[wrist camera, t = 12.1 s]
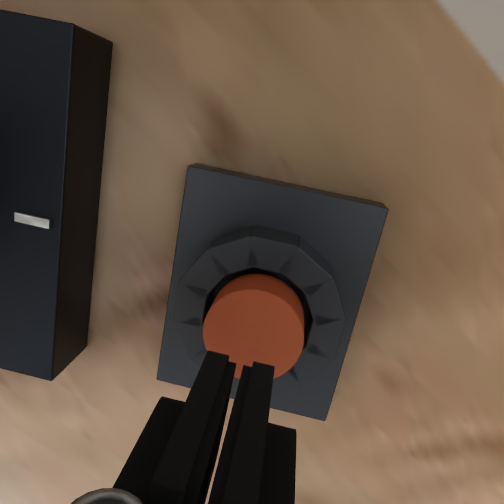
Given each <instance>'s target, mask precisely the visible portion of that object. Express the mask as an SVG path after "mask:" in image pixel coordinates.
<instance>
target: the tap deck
mask: <svg viewBox="0 0 504 504" xmlns="http://www.w3.org/2000/svg"><path fill="white" fill-rule="evenodd" d="M112 46H113V43H112V42H111V41H109V40H107V39H105V38H103V37H100V36H98V35H96V34H94V33H92V32H90V31H88V30H85V29H83V28H81V27H79V26H77V25H75V24H72V23H67V22H62V21H57V20H52V19H47V18H42V17H36V16H31V15H26V14H21V13H16V12H11V11H6V10H1V9H0V368H2V369H6V370H10V371H14V372H18V373H22V374H26V375H30V376H34V377H38V378H42V379H45V380H49V381H52V380H53V379H54V378H55V377H56V376H58V375H59V374H60V373H61V372H62V371H63V370H64V369H65V368H66V367H67V366H68V365H69V364H70V363H71V362H72V361H73V360H74V359H75V358H76V357H77V356H78V355H79V354H80V353H81V352H82V351H83V350H84V349H85V348H86V344H87V333H88V321H89V310H90V298H91V287H92V275H93V264H94V252H95V241H96V230H97V218H98V207H99V195H100V184H101V172H102V161H103V149H104V138H105V126H106V115H107V103H108V92H109V80H110V69H111V57H112Z"/></svg>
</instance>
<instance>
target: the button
mask: <svg viewBox="0 0 504 504" xmlns="http://www.w3.org/2000/svg"><path fill="white" fill-rule="evenodd" d="M203 339H204V344H205V347H206V350H207V351H208V350H209V351H214V352H218V353H222V354H226V355H229V362H234V363H237V364H236V369H235V374H234V377H236V378H238V379H240V376H241V372H242V368H243V365H246V366H250V367H252V365H253V361H255V362H260V363H264V364H268V365H272V366H275V370H274V377H273V379H274V378H277V377H279V376H281V375H283V374H284V373H286V372H287V371H288V370H289V369H291V368H292V367H293V365H294V364H295V363H296V362H297V360H298V359H299V357H300V355H301V352H302V349H303V345H304V311H303V307H302V304H301V301H300V299H299V298H298V296H297V294H296V293H295V292H294V290H293V289H292V288H291V287H290V286H289V285H287V284H286V283H285V282H283V281H282V280H280V279H278V278H276V277H273V276H270V275H266V274H257V273H254V274H246V275H242V276H239V277H237V278H235V279H233V280H231V281H230V282H228V283H227V284H226V285H225V286H224V287H223V288H222V289H221V290H220V291H219V293H218V295H217V296H216V298H215V300H214V302H213V304H212V306H211V307H210V309H209V311H208V313H207V315H206V318H205V321H204V325H203Z"/></svg>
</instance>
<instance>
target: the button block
mask: <svg viewBox="0 0 504 504" xmlns="http://www.w3.org/2000/svg"><path fill="white" fill-rule="evenodd" d="M388 210H389V209H388V208H387V207H386V206H385V205H384V204H383V203H379V202H374V201H370V200H365V199H360V198H356V197H351V196H346V195H342V194H337V193H332V192H327V191H323V190H318V189H313V188H309V187H304V186H299V185H295V184H290V183H285V182H281V181H276V180H271V179H267V178H262V177H257V176H252V175H248V174H243V173H238V172H234V171H229V170H224V169H220V168H215V167H210V166H206V165H201V164H193V165H189V166H188V169H187V175H186V182H185V189H184V196H183V203H182V209H181V216H180V223H179V230H178V236H177V243H176V250H175V257H174V263H173V270H172V277H171V284H170V291H169V297H168V304H167V311H166V318H165V324H164V331H163V338H162V345H161V351H160V358H159V365H158V372H157V380H160V381H164V382H168V383H172V384H176V385H180V386H184V387H188V388H192V386H193V383H194V381H195V379H196V377H197V374H198V372H199V370H200V367H201V365H202V363H203V360H204V358H205V356H206V353H207V350H206V347H205V344H204V339H203V325H204V321H205V318H206V315H207V313H208V311H209V309H210V307H211V306H212V304H213V302H214V300H215V298H216V296H217V295H218V293H219V291H220V290H221V289H222V288H223V287H224V286H225V285H226V284H227V283H228V282H230V281H231V280H233V279H235V278H237V277H239V276H242V275H246V274H254V273H257V274H266V275H270V276H273V277H276V278H278V279H280V280H282V281H283V282H285V283H286V284H287V285H289V286H290V287H291V288H292V289H293V290H294V292H295V293H296V294H297V296H298V298H299V299H300V301H301V304H302V307H303V311H304V345H303V349H302V352H301V355H300V357H299V359H298V360H297V362H296V363H295V364H294V365H293V367H292V368H291V369H289V370H288V371H287V372H286V373H284V374H283V375H281V376H279V377H277V378H274V379H273V385H272V393H271V401H270V408H273V409H277V410H281V411H286V412H290V413H294V414H298V415H302V416H306V417H310V418H314V419H318V420H322V421H325V420H326V418H327V414H328V411H329V408H330V404H331V401H332V398H333V394H334V391H335V388H336V384H337V381H338V378H339V374H340V371H341V368H342V364H343V361H344V358H345V354H346V351H347V347H348V344H349V341H350V337H351V334H352V331H353V327H354V324H355V321H356V317H357V314H358V311H359V307H360V304H361V301H362V297H363V294H364V291H365V287H366V284H367V281H368V277H369V274H370V270H371V267H372V264H373V260H374V257H375V254H376V250H377V247H378V244H379V240H380V237H381V234H382V230H383V227H384V224H385V220H386V217H387V214H388ZM239 380H240V379H238V378H236V377H234V379H233V383H232V388H231V393H230V398H233V399H235V396H236V392H237V388H238V384H239Z"/></svg>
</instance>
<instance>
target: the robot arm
mask: <svg viewBox="0 0 504 504" xmlns="http://www.w3.org/2000/svg"><path fill="white" fill-rule="evenodd" d="M236 364H237V363H234V362H229V355H226V354H222V353H218V352H214V351H209V350H208V351H207V353H206V356H205V358H204V360H203V363H202V365H201V367H200V370H199V372H198V374H197V377H196V379H195V381H194V383H193V386H192V388H191V390H190V393H189V395H188V397H187V400H186V402H182V401H178V400H174V399H170V398H166V397H161V398H160V400H159V401H158V403H157V405H156V407H155V409H154V411H153V412H152V414H151V416H150V418H149V420H148V422H147V424H146V426H145V428H144V429H143V431H142V433H141V435H140V437H139V439H138V441H137V443H136V445H135V446H134V448H133V450H132V452H131V454H130V456H129V458H128V460H127V461H126V463H125V465H124V467H123V469H122V471H121V473H120V475H119V477H118V478H117V480H116V482H115V484H114V486H113V488H102V489H98V490H95V491H91V492H88V493H86V494H84V495H82V496H81V497H79V498H77V499H75V500H74V501H73V502H72V503H71V504H205V501H206V497H207V493H208V489H209V485H210V482H211V478H212V474H213V470H214V467H215V463H216V459H217V454H218V450H219V445H220V440H221V436H222V431H223V426H224V421H225V417H226V412H227V407H228V402H229V398H230V393H231V388H232V383H233V379H234V374H235V369H236ZM274 370H275V366H272V365H268V364H264V363H260V362H255V361H253V365H252V367H250V366H246V365H243V368H242V372H241V376H240V380H239V384H238V388H237V392H236V396H235V400H234V403H233V407H232V411H231V415H230V419H229V423H228V427H227V431H226V435H225V438H224V442H223V446H222V450H221V454H220V458H219V462H218V466H217V470H216V473H215V477H214V481H213V485H212V489H211V493H210V498H209V502H208V504H294V503H295V468H296V429H291V428H287V427H283V426H279V425H275V424H271V423H268V417H269V409H270V401H271V393H272V385H273V377H274Z"/></svg>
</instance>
